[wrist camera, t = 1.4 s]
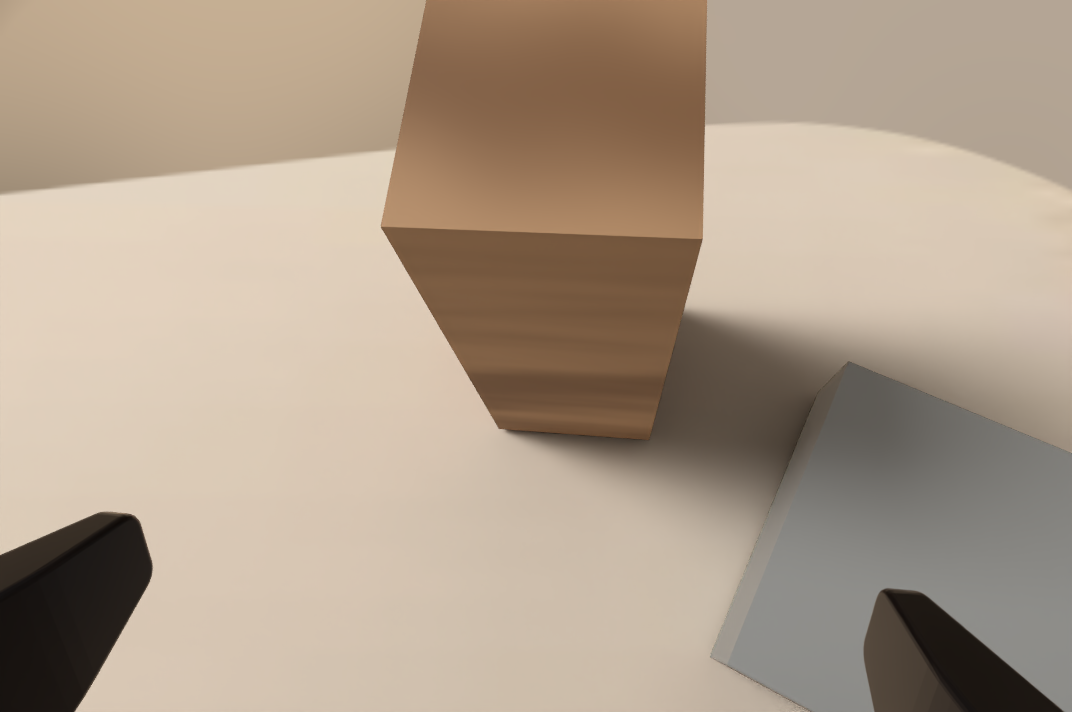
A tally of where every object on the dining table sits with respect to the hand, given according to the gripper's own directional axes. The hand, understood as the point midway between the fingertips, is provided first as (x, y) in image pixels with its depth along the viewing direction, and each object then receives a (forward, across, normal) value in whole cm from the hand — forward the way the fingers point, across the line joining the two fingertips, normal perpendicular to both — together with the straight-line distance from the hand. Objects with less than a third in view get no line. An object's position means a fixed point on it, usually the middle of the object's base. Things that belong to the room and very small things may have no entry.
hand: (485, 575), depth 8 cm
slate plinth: (+10, -10, +9) cm, 17 cm away
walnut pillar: (+15, 0, +4) cm, 16 cm away
